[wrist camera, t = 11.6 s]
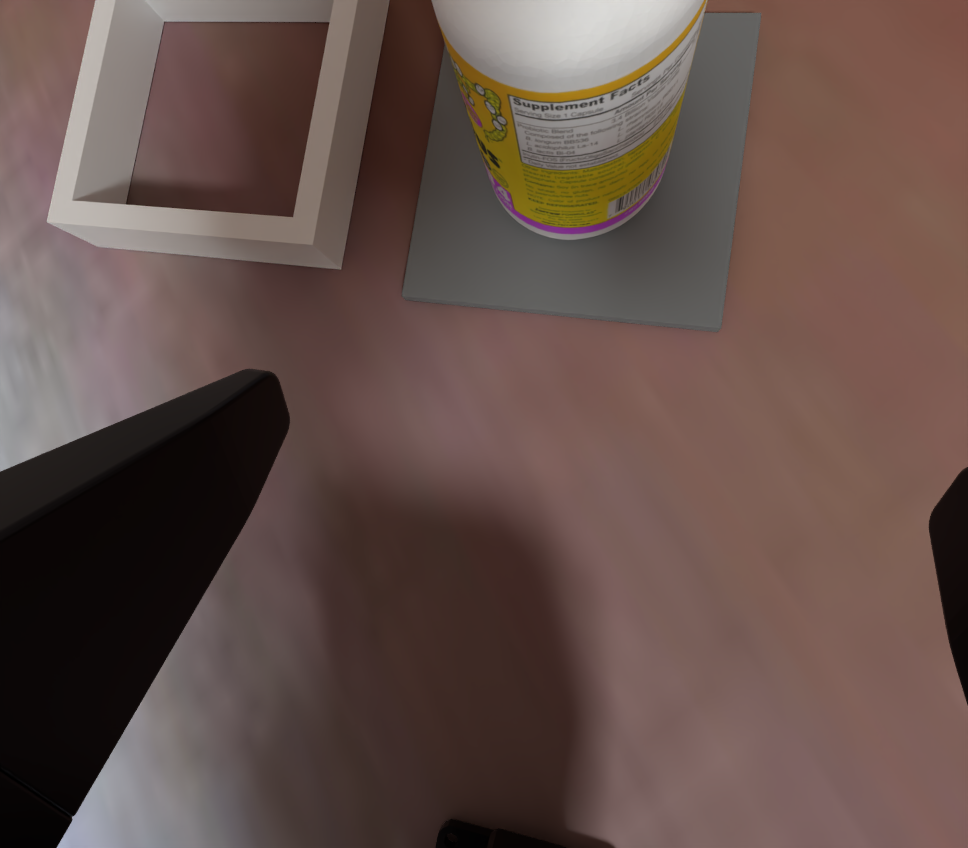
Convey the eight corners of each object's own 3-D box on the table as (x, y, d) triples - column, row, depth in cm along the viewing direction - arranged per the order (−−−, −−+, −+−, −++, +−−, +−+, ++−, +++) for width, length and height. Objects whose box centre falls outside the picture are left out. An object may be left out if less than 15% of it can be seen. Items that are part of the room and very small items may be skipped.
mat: (717, 332, 21) (721, 328, 20) (405, 300, 23) (401, 295, 22) (757, 23, 21) (761, 12, 21) (452, 22, 24) (449, 12, 23)
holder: (341, 269, 24) (312, 244, 21) (97, 246, 26) (46, 222, 23) (389, 0, 24) (367, -54, 22) (150, 1, 27) (106, -47, 24)
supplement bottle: (493, 88, 23) (377, -407, 10) (666, 74, 21) (781, -509, 9) (486, 251, 22) (352, -62, 9) (664, 245, 21) (784, -121, 8)
